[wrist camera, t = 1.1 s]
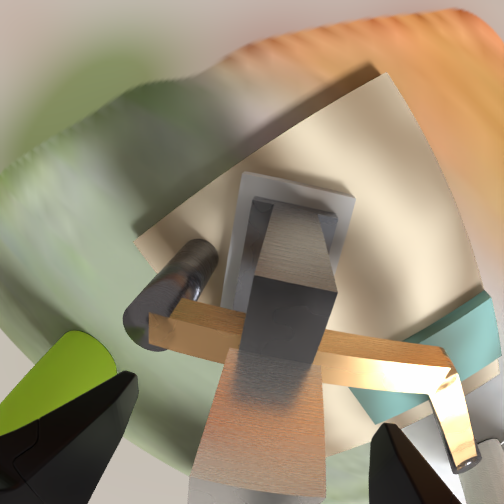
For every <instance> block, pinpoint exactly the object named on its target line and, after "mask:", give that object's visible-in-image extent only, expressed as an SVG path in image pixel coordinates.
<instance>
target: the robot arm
mask: <svg viewBox="0 0 504 504" xmlns="http://www.w3.org/2000/svg"><path fill="white" fill-rule="evenodd" d="M138 393H139V390H138V378H137V375H136V374H135V373H132V372H129V371H122V372H120V373H119V374H117V375H115V376H113V377H112V378H110V379H108V380H106V381H105V382H103V383H101V384H99V385H98V386H96V387H94V388H92V389H91V390H89V391H87V392H85V393H84V394H82V395H80V396H78V397H76V398H75V399H73V400H71V401H69V402H67V403H66V404H64V405H62V406H60V407H58V408H57V409H55V410H53V411H51V412H49V413H47V414H45V415H44V416H42V417H40V418H39V419H36V420H34V421H32V422H30V423H28V424H26V425H24V426H22V427H20V428H18V429H16V430H14V431H11V432H9V433H6V434H4V435H1V436H0V504H88V501H89V500H90V498H91V496H92V494H93V492H94V490H95V488H96V486H97V484H98V482H99V480H100V478H101V477H102V474H103V473H104V471H105V469H106V467H107V465H108V463H109V461H110V459H111V457H112V455H113V454H114V452H115V450H116V448H117V446H118V444H119V442H120V440H121V438H122V436H123V434H124V432H125V429H126V426H127V424H128V421H129V418H130V416H131V413H132V411H133V408H134V405H135V403H136V400H137V398H138ZM369 504H462V503H461V502H460V501H459V500H458V499H457V497H456V496H455V495H454V494H453V493H452V491H451V490H450V489H449V488H448V487H447V485H446V484H445V483H444V482H443V480H442V479H441V478H440V477H439V476H438V474H437V473H436V472H435V471H434V469H433V468H432V467H431V466H430V465H429V463H428V462H427V461H426V460H425V458H424V457H423V456H422V455H421V454H420V452H419V451H418V450H417V449H416V447H415V446H414V445H413V444H412V443H411V441H410V440H409V439H408V438H407V437H406V435H405V434H404V433H403V432H402V430H401V429H400V428H399V427H398V426H397V424H395V423H389V422H384V423H383V424H381V426H380V427H379V429H378V430H377V431H376V433H375V434H374V435H373V437H372V439H371V447H370V466H369Z"/></svg>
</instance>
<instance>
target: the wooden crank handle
mask: <svg viewBox="0 0 504 504" xmlns="http://www.w3.org/2000/svg"><path fill="white" fill-rule="evenodd" d="M218 261H219V257H218V253H217V250H216V248H215V247H214V246H213V245H212V244H211V243H210V242H208V241H206V240H204V239H192V240H190V241H188V242H187V243H186V244H185V245H184V246H183V247H182V248H181V249H180V250H179V251H178V252H177V253H176V254H175V255H174V257H173V258H172V259H171V260H170V261H169V262H168V263H167V264H166V265H165V266H164V267H163V269H162V270H161V271H160V272H159V273H158V274H157V275H156V276H155V277H154V278H153V279H152V281H151V282H150V283H149V284H148V285H147V286H146V287H145V288H144V289H143V291H142V292H141V293H140V294H139V295H138V296H137V297H136V298H135V300H134V301H133V302H132V303H131V304H130V305H129V306H128V308H127V309H126V310H125V312H124V314H123V325H124V328H125V330H126V332H127V334H128V335H129V337H130V338H131V339H132V340H133V341H134V342H135V343H136V344H138V345H139V346H141V347H142V348H144V349H147V350H150V351H156V352H159V351H165V350H167V349H169V350H172V351H176V352H179V353H183V354H187V355H190V356H194V357H198V358H202V359H206V360H210V361H214V362H218V363H222V364H225V361H226V357H227V354H228V351H229V348H233V349H238V350H239V346H240V341H241V336H242V331H243V327H244V322H245V317H246V313H244V312H240V311H235V310H231V309H227V308H222V307H218V306H214V305H210V304H206V303H201V302H197V300H198V299H199V297H200V295H201V293H202V292H203V290H204V288H205V286H206V284H207V283H208V281H209V279H210V277H211V276H212V274H213V272H214V270H215V269H216V267H217V265H218ZM312 364H314V365H320V366H321V373H322V383H326V384H333V385H340V386H347V387H356V388H364V389H373V390H384V391H395V392H408V393H424V394H429V396H430V398H431V399H429V403H430V406H431V408H432V411H433V414H434V417H435V419H436V422H437V425H438V428H439V431H440V434H441V437H442V440H443V443H444V446H445V449H446V452H447V456H448V459H449V462H450V465H451V469H452V472H453V474H461V473H464V472H466V471H468V470H470V469H472V468H473V467H475V466H476V465H477V464H478V463H479V462H480V461H481V460H482V456H481V453H480V450H479V448H478V445H477V443H476V440H475V438H474V435H473V433H472V428H471V423H470V419H469V414H468V410H467V406H466V402H465V398H464V394H463V390H462V387H461V383H460V380H459V376H458V373H457V371H456V369H455V367H454V365H453V363H452V361H451V359H450V358H449V356H448V354H447V352H446V350H445V349H444V348H442V347H438V346H430V345H422V344H415V343H408V342H401V341H394V340H388V339H381V338H375V337H369V336H363V335H357V334H351V333H345V332H339V331H334V330H328V329H325V331H324V334H323V337H322V340H321V342H320V345H319V348H318V350H317V353H316V356H315V358H314V361H313V363H312Z"/></svg>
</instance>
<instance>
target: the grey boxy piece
mask: <svg viewBox="0 0 504 504" xmlns="http://www.w3.org/2000/svg"><path fill="white" fill-rule="evenodd" d="M337 222H338V217H337V215H336V213H332V212H328V211H323V210H319V209H314V208H310V207H306V206H301V205H297V204H292V203H287V202H283V201H278V200H273V199H268V198H264V197H259V196H254V198H253V200H252V204H251V210H250V215H249V221H248V226H247V232H246V237H245V243H244V248H243V254H242V259H241V265H240V270H239V276H238V282H237V287H236V293H235V298H234V304H233V310H235V311H240V312H244V313H246V317H245V322H244V327H243V331H242V336H241V341H240V346H239V350H238V349H233V348H229V351H228V354H227V357H226V361H225V364H224V367H223V370H222V374H221V377H220V380H219V383H218V387H217V390H216V393H215V396H214V399H213V403H212V406H211V409H210V412H209V416H208V419H207V422H206V425H205V428H204V432H203V435H202V438H201V441H200V444H199V448H198V451H197V454H196V457H195V460H194V464H193V467H192V470H191V473H190V476H189V491H188V504H320V503H321V502H322V501H323V500H324V499H325V498H326V463H325V430H324V408H323V389H322V373H321V366H320V365H314V364H312V363H313V361H314V358H315V356H316V353H317V350H318V348H319V345H320V342H321V340H322V337H323V334H324V331H325V329H326V326H327V323H328V320H329V317H330V315H331V312H332V309H333V306H334V303H335V300H336V297H337V294H338V290H337V286H336V282H335V278H334V274H333V270H332V266H331V262H330V258H329V252H330V248H331V245H332V241H333V237H334V234H335V230H336V226H337Z"/></svg>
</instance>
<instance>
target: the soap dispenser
mask: <svg viewBox="0 0 504 504" xmlns="http://www.w3.org/2000/svg"><path fill="white" fill-rule="evenodd" d="M116 373H117V370H116V365H115V362H114V360H113V358H112V356H111V355H110V353H109V352H108V351H107V349H106V348H105V347H104V346H103V345H102V344H101V343H100V342H99V341H97V340H96V339H95V338H93V337H92V336H90V335H88V334H86V333H84V332H81V331H69V332H67V333H65V334H64V335H63V336H62V337H61V338H60V340H59V341H58V342H57V343H56V344H55V345H54V346H53V347H52V348H51V349H50V350H49V351H48V352H47V353H46V354H45V355H44V356H43V357H42V358H41V359H40V360H39V361H38V363H37V364H36V365H35V366H34V367H33V368H32V369H31V370H30V371H29V372H28V373H27V374H26V375H25V377H24V378H23V379H22V380H21V381H20V382H19V383H18V384H17V386H16V387H15V388H14V389H13V390H12V391H11V392H10V393H9V395H8V396H7V397H6V398H5V399H4V400H3V401H2V402H1V404H0V436H1V435H4V434H6V433H9V432H11V431H14V430H16V429H18V428H20V427H22V426H24V425H26V424H28V423H30V422H32V421H34V420H36V419H39V418H40V417H42V416H44V415H45V414H47V413H49V412H51V411H53V410H55V409H57V408H58V407H60V406H62V405H64V404H66V403H67V402H69V401H71V400H73V399H75V398H76V397H78V396H80V395H82V394H84V393H85V392H87V391H89V390H91V389H92V388H94V387H96V386H98V385H99V384H101V383H103V382H105V381H106V380H108V379H110V378H112V377H113V376H115V375H116Z"/></svg>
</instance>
